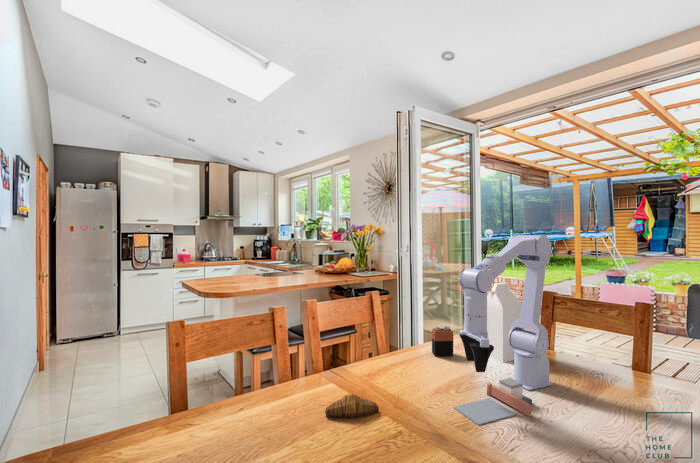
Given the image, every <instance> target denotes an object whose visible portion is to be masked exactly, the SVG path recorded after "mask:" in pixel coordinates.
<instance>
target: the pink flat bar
mask: <svg viewBox="0 0 700 463" xmlns="http://www.w3.org/2000/svg"><path fill="white" fill-rule="evenodd" d="M486 395H487V397H492V396H493V397H495V398H496V399H498V400H500V401H502V402H503V403H505V404H507V405H509V406H511V407H512V408H514V409H516V410H517V411H519V412H521V413H523V414H524V415H527V417H530V416H532V415H533V414H532V413H533V410H532V409H533V408H532V407H533V406H532V404H528V403H526V402H525V401H523V400H521V399H519V398H517V397H515V396H513V395H511V394H509V393H508V392H506V391H504V390H502V389H500V388H499V387H498V386H496V385H493V383H491V382H486Z"/></svg>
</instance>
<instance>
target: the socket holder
mask: <svg viewBox="0 0 700 463" xmlns="http://www.w3.org/2000/svg"><path fill="white" fill-rule="evenodd" d="M521 400H523V401H525V402H526V403H528V404H530V405H532V404H533V399H531V398H530V397H527V396H525V395H523V394H522V399H521Z"/></svg>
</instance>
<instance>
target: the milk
mask: <svg viewBox="0 0 700 463" xmlns="http://www.w3.org/2000/svg"><path fill="white" fill-rule="evenodd" d="M521 306H522V301H520V299H519V298H517V296H516V295H515V294H514V293H513V291H511V288H510V285H509V282H499V283H497V282H496V283H494V284H493V285H492V289H491V292H489V293H487V332H488V339H489V345H493V346H494V350H493V351H492V353H491V355H490V357H489V359H490V358H491V359H492V360H496V361H498V362H501V363H506V362H510V361H514V351H512V347H510V345H509V343H508V334H509V332H510V330H511V326H512V323H513V322H515V321H517V320H519V319H520V314H521ZM522 330H525V329H522Z"/></svg>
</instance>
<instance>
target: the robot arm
mask: <svg viewBox="0 0 700 463" xmlns="http://www.w3.org/2000/svg"><path fill="white" fill-rule="evenodd" d="M551 252H552V243H551V242H550V239H549V237H548V236H547V235H545V234H540V235H537V234H536V235H533V234H532V235H531V234H529V235H528V234H527V235H526V234H525V235H524V234H513V235H512V236H511V237H509V238H508V242H507V244H506V245H505V246H504V247H503V248H502V249H501V250H500V251H498V253H497V254H493V253H492V254H489V253H488V254H486V255H485V258H483V260H482V259H481V261H480V262H478V263H476V264H475V266H474V267H472V268H470V267H468V268H466V269H465V270H463V271H462V272H461V274H460V278H459V279H458V283H459V286H460V287H461V291H462V292H461V293H462V295H463V301H464V302H463V306H464V307H463V311H464V312H463V313H464V315H463V316H464V317H463V320H464V321H463V322H464V323H463V329H460V330H459V334H458V335H459V337H460V339H461V342H462V344H463V348H464V349H463V350H464V354H465V358H466V361H467V362H474V363H473V364H474V368H475V372H476V373H485V372H486V369H487V366H488V362H489V359H490V355H491V353H492V351H493V350H494V346H493V345H489V339H488V332H487V295H488V292H489V291H490V290H492V289H491V288H493V283H494V282H495V280H496V279H497V278H498V277H499V276H500V275H502V273H504V272H505V271H506V269H507V268H506V266H507V264H509V263H510V262H512V261H514V260H515V259H517V260H518V261H519V262H520V263H522V264H524V265H525V267H526V268H525V276H524V277H525V278H524V284H523V291H522V301H521V303H522V306H521V314H520V319H519V320H517V321H515V322H513V323H512V326H511V330H510V332H509V334H508V343H509V345H510V347H512V351H514V360H513V362H514V364H513V365H514V366H513V367H514V368H513V369H514V370H513V372H514V373H513V374H514V375H513V376H512V377H510V378H512V379H514V380H516V381H518V382H520V383H523V389H524V390H527V391H532V390H536V389H541V388H545V387H549V386H552V385H553V384H552V382H550V361H549V358H548V356H547V355H546V354H547V352H548V350H549V347H550V346H549V343H550V342H549V333H548V332H549V331H548V330H547V328H546V327H545V326H544V325H543V324H542V323H541V322H540V320H541V312H542V310H541V309H542V302H543V293H544V284H545V277H546V271H547V270H546V269H547V265H549V264H550V259H551ZM522 329H524V330H522Z"/></svg>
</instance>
